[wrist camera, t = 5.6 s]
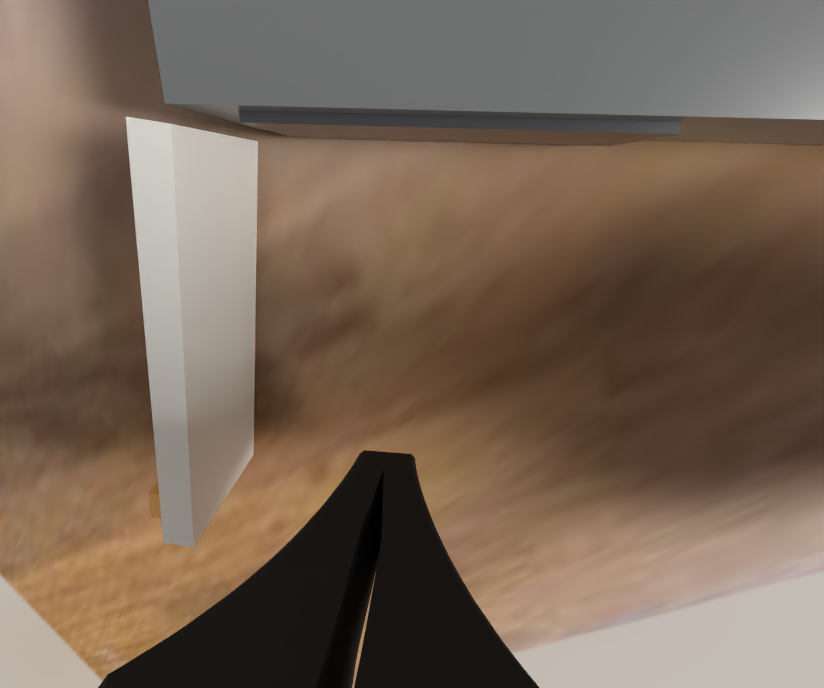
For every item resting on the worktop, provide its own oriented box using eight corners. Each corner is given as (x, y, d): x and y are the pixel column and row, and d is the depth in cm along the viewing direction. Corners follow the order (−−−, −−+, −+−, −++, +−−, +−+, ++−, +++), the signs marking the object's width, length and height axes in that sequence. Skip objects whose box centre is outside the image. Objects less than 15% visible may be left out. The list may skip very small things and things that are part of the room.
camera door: (253, 454, 15) (194, 547, 11) (213, 448, 15) (140, 539, 11) (258, 141, 11) (171, 124, 7) (204, 132, 11) (91, 110, 7)
